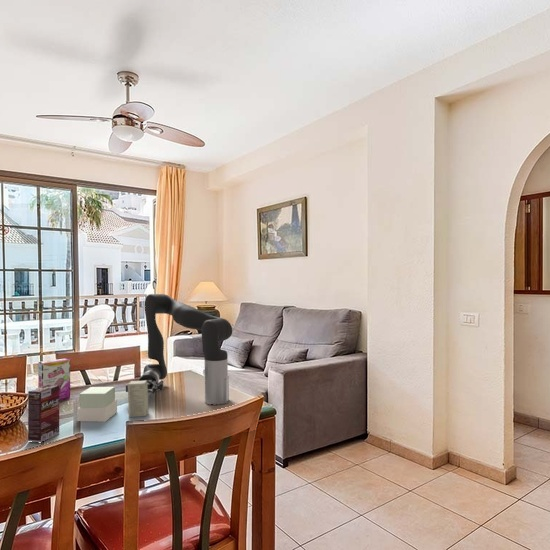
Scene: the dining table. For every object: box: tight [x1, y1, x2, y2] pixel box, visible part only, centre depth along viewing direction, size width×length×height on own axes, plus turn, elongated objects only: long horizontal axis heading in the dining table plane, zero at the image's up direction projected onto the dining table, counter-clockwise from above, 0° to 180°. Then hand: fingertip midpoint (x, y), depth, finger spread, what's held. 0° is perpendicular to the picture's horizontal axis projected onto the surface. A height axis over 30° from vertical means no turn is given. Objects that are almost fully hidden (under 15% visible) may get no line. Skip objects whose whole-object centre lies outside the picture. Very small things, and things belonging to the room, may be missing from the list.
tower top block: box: [79, 386, 116, 408], centre depth 153 cm, size 9×9×5 cm
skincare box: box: [127, 380, 149, 418], centre depth 154 cm, size 6×4×12 cm
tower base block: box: [76, 399, 118, 423], centre depth 153 cm, size 10×10×5 cm
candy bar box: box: [37, 358, 71, 401], centre depth 174 cm, size 11×5×16 cm, turn 137°
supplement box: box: [27, 385, 60, 443], centre depth 133 cm, size 9×5×16 cm, turn 168°
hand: (141, 391), depth 162 cm, fingers open, 8 cm apart
